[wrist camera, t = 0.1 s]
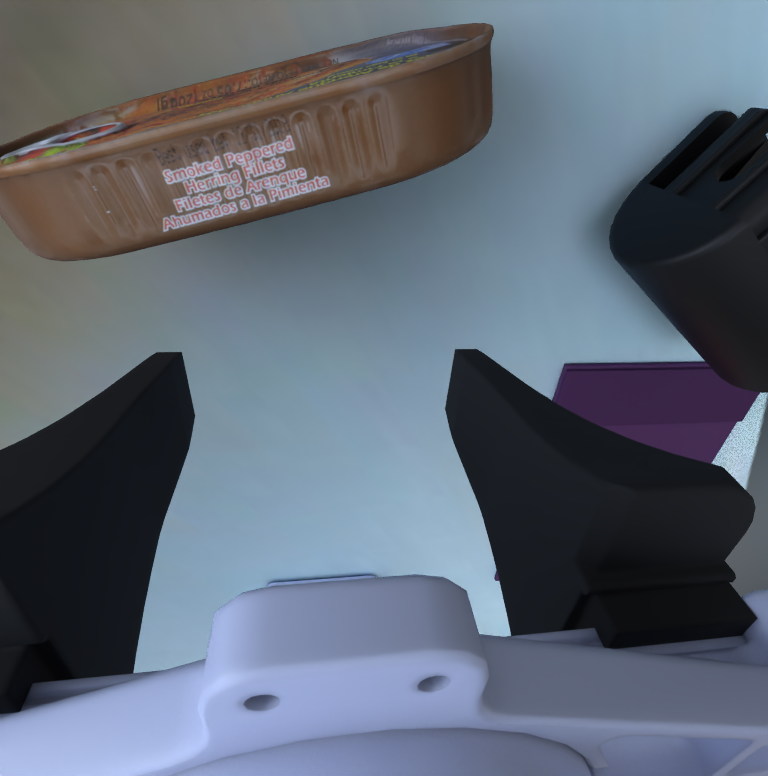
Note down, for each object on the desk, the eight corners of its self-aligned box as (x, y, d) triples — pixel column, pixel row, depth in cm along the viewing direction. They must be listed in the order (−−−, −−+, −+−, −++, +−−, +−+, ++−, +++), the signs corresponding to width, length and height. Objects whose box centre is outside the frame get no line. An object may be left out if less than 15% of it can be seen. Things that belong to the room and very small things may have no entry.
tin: (449, 18, 17) (545, -7, 10) (459, 118, 19) (546, 155, 12) (41, 122, 17) (-139, 168, 10) (90, 211, 19) (-34, 299, 12)
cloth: (644, 566, 39) (647, 571, 39) (494, 578, 38) (496, 583, 37) (770, 360, 28) (777, 365, 28) (564, 363, 26) (568, 368, 26)
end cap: (574, 232, 22) (663, 291, 16) (713, 94, 19) (874, 109, 14) (677, 344, 26) (773, 420, 21) (800, 245, 24) (948, 302, 18)
